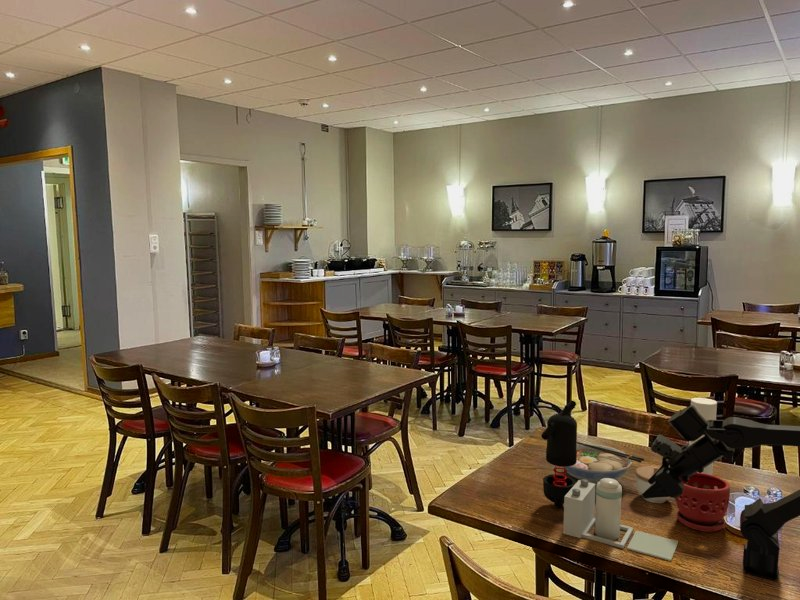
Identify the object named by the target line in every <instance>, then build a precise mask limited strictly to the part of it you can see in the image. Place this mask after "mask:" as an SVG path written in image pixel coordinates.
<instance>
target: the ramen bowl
mask: <svg viewBox="0 0 800 600" xmlns="http://www.w3.org/2000/svg"><path fill="white" fill-rule="evenodd" d="M576 451H577V462H576V464H574V465H573V466H565V469H566V470H567V472H566V473H567V474H568V475H570V476H571V477H574V478H575V479H577V480H582V479H585V480H588V482H590V483H594V484H596V485H597V482H599V481H600V480H601V479H603V478H611V479H614V480H618V479H620V478H621V477H622V476H623V475H624V474H625V473H626V472H627V470H628V469H630V467H631V465H632V464H633V461H635V462H638V463H642V462H644V461H645V458H644V457H639V456H635V455H631V454H627V453H625V452H624V451H622V450H618V449H617V448H614V447H611V446H606V445H601V444H597V443H596V444H595V443H593V444H592V443H583V442H580V441H577V447H576ZM562 468H564V467H562Z"/></svg>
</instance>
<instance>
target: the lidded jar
mask: <svg viewBox="0 0 800 600" xmlns="http://www.w3.org/2000/svg"><path fill="white" fill-rule="evenodd" d="M659 468H660V466H654V465H643V466H639V467H637V468H636V469H635V484H636V489H637V490H638V491H637V492H638V493H639V494H640V495H641V496H642V494H643V493H644V492H645V491H646V490H647V489H648V488H649V487H650V486H651V485H652V484H650V483H649V482H648V480H649V479H650V477H651V476H652V475H653V474H654V473H655V472H656V471H657V470H658V469H659ZM642 498H643V500H645V501H646V502H649V503H653V504H663V503H665V502H666V501H668V500H669V499H670V498H671V497H657V498H646V499H645V498H644V497H643V496H642Z"/></svg>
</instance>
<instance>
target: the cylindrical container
mask: <svg viewBox="0 0 800 600" xmlns="http://www.w3.org/2000/svg"><path fill="white" fill-rule="evenodd" d="M690 405H693V406H694V407H695V408H696V409H697V411H698V412H699V414H700V415H701V416H702V417H703V418H704V419H705V420H706V421H707V420H717V408H718V401H716V400H714V399H710V398H705V397H693V398H691V399H690ZM703 436H705V435H702V436H701V437H700V438H702V437H703ZM700 438H698V439H697V440H699V439H700ZM697 440H695V441H688V446H690V445H691V444H693V443H694V442H696V441H697ZM697 473H699V472H697ZM702 473H704V474H709V475H713V474H714V462H713V463H712V464H710V465H708V466H707V467H705V468H704V471H703V472H702ZM713 476H714V475H713Z"/></svg>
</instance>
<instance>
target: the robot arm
mask: <svg viewBox="0 0 800 600" xmlns="http://www.w3.org/2000/svg"><path fill="white" fill-rule="evenodd" d="M667 423H668V424H670V426H671V427H672V428H673V429H674V430H675V431H676V432H677V433H678V435H679V436H680V437H681V438H682V439H683V440H684V441H688V442H689V441H695V440H697V439H698V438H700V437H701V436H702V435H705V436H703V437H702V438H700V439H699V440H697V441H696V442H694V443H693V444H691V445H690V446H689V444H684V445H682V446H680V445H678V444H677V443H676V442H674V441H672V439H671V440H670V439H669V438H667V437H666V436H664V435H663V434H658V435H657V436H656V438H655V439H654V441H653V443H652V445H651V447H650V450H651V451H652V452H653V453H655V454H658V455H659V456H661V457H662V459H661V460H662V461H661V465H660V466H659V467H660V468H659V469H658V470H657V471H656V472H655V473H654V474H653V475H652V476H651V477H650V479H649V480H648V482H649V483H650V484H652V485H651V486H650V487H649V488H648V489H647V490H646V491H645V492H644V493H643V494H642V495H641V496H642V498H643V497H644V498H645V499H646V498H657V497H670V498H674V499H675V500H676V498H677V497H679V496H680V495H682V493H683V489H684V483H683V482H682V481H681V480H680V479H681V478H682V479H683V481H684V482H685V483H686V482H687V481H689V478H690V477H691V476H692V475H694V474H696V473H697V472H699V473H702V472H703V471H704V468H705V467H707V466H708V465H710V464H712V463H713V464H714V462H716V461H718V460H720V459H721V458H725V460H726V461H727V462H728V463H730V464H732V463H733V460H734V453H735V450H739V449H751V448H752V449H753V448H756V447H760V446H766V445H767V446H772V445H773V446H783V447H785V446H786V447H800V425H784V424H783V425H782V424H781V425H780V424H766V423H761V422H758V421H754V420H751V419H747V418H742V417H738V416H737V417H736V416H729V417H726V418H725V419H716V420H707V421H706V420H705V419H704V418H703V417H702V416H701V415H700V414H699V412H698V411H697V409H696V408H695V407H694V406H693V405H691V404H690V405H689V406H687V407H685V408H684V407H683V409H679V410H677V411H676V412H675V413H674V414H672V415H671V416H670V418H668V420H667ZM687 483H688V482H687ZM687 483H686V484H687ZM644 498H643V499H644ZM645 499H644V500H645ZM739 515H740V516H739V530H740V533H741V535H742V537H743V538H744V539H745V540H746V541H747V542H746V544H744V546H743V551H742V553H743V555H742V566H743V567H744V569H743V572H744V573H745V574H749V575H753V576H757V577H761V578H765V579H768V580H772V581H776V582H777V581H778V582H779V568H780V567H779V562H780V561H779V560H780V559H779V557H780V550H781V547H780V546H781V545H780V541H779V530H781V529H782V527H783V526H784V525H785V524H787V523H788V522H789V521H792V520H794V519H796V518H798V517H800V489H797V490H796V491H794V492H792V493H790V494H788V495H785V496H784V497H782V498H780V499H778V500H776V501H773V502H765V503H764V501H763V500H762V498H758V499H756V500H755V501H754V502H752V503H750V504H745V505H744V509H743V510H742V511H741V512H740V514H739Z"/></svg>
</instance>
